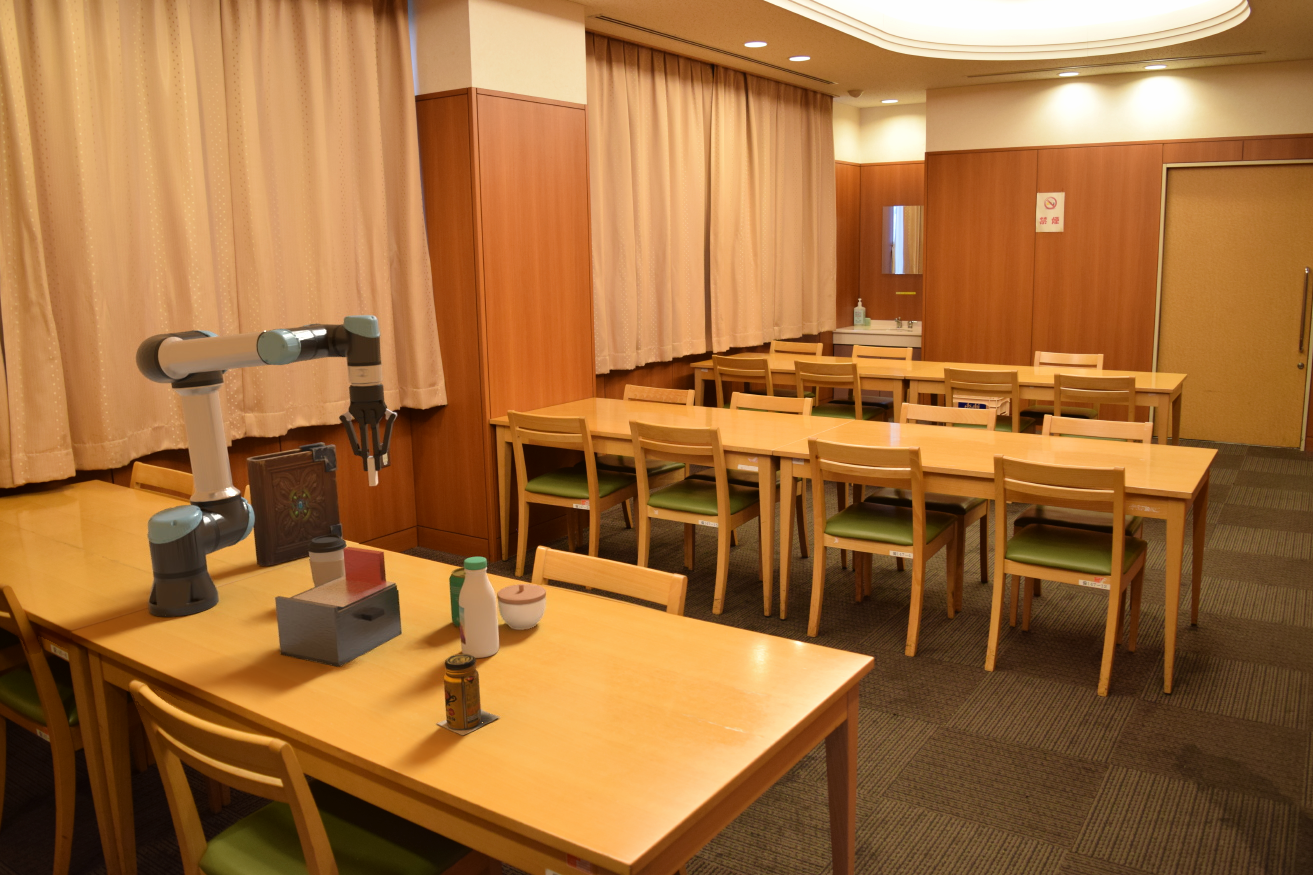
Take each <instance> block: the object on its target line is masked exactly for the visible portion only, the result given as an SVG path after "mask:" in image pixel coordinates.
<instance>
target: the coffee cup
mask: <svg viewBox="0 0 1313 875" xmlns="http://www.w3.org/2000/svg"><path fill="white" fill-rule="evenodd" d="M346 547H348V546H347V541H346V540H345V539H344V538H343V539H341V537H340V536H338V535H337V534H328V535H326V536H320V537H316V538H314V539H312V541H311V543H309V544H308V549H307V550H308V551H309V555H308V557H309V566H310V571H311V572H310V573H311V577H312V583H313V585H314V587H316V586H319V585H321V584H323V583H326V582H328V581H331V580H333V579H335V578H338V577H340V576H341V577H343V576H345V564H344V552H343V549H344V548H346Z"/></svg>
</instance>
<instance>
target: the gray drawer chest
mask: <svg viewBox="0 0 1313 875" xmlns="http://www.w3.org/2000/svg"><path fill="white" fill-rule="evenodd" d="M340 577H341V576H340ZM340 577H338V578H340ZM338 578H335V579H333V580H336V579H338ZM333 580H331V581H333ZM331 581H328V582H331ZM328 582H326V583H328ZM326 583H323V584H321V585H324V584H326ZM321 585H319V586H321ZM319 586H316V587H315V586H314V587H312V588H310V589H307V590H305V591H302V592H300V593H297V594H295V595H293V596H291V597H286V596H281V595H278V596H275V597H274V600H275V609H276V610H275V611H276V620H277V633H278V641H279V652H280V655H281V656H285V657H289V658H290V657H291V658H295V659H300V660H304V661H310V662H315V663H319V664H324V665H329V666H334V667H339V668H340V667H342V666H343V665H345V664H347V663H349V662H351V661H352V660H355V659H356V658H358V657H360V656H363V655H364V654H366V653H368V652H370V651H372V650H374V649H375V648H377V647H380V646H381V645H383V644H385V643H387V642H389V641H390V640H393V639H395V638H397V637H399V636H400V635H402V618H401V607H400V594H399V593H400V592H399V589H398V585H397V584H396V585H394V586H392V587H390V588H388V589H385V590H383V591H381V592H379V593H377V594H375V595H372V596H370V597H368V598H366V599H364V600H362V601H359V602H357V603H355V604H353V605H351V606H349V607H346V608H344V609H342V610H340V611H338V606H333V605H327V604H322V603H316V602H310V601H305V600H299V599H293V597H295V596H298V595H300V594H302V593H305V592H307V591H309V590H312V589H314V588H317V587H319Z"/></svg>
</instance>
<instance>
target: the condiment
mask: <svg viewBox="0 0 1313 875" xmlns="http://www.w3.org/2000/svg"><path fill="white" fill-rule="evenodd" d="M476 661H477V660H476V658H474V656H472V655H469V654H463V653H459V654H453V655H451V656H449V657H447V658H445V660H444V668H445V669H444V675H443V688H444V690H443V691H444V700H445V716H446V719H444V720H441V721H440V722H437V723H436V724H437V725H438V726H440V727H442V728H445V729H446V730H448V731H451V732H453V733H456V734H459V735H461V736H464V735H467V734H469V733H472V732H473V731H475V730H478V729H480V728H482V727H484V726H485V725H486V724H489V723H492V722H494V721H495V720H496V719H498V718H501V716H499V715H496V714H493V713H491V712H488V711H485V710H484V709H482V706H481V692H480V691H481V690H480V676H479V671H478V670H477V664H476ZM490 713H491V714H490ZM482 722H483V723H482Z"/></svg>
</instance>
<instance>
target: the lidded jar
mask: <svg viewBox="0 0 1313 875" xmlns="http://www.w3.org/2000/svg"><path fill="white" fill-rule="evenodd" d="M546 597H547V590H546V588H545V587H544V586H541V585H538V584H534V583H533V584H531V583H519V584H517V583H516V584H512V585H508V586H505V587H503V588H500V589H499V590H498V591H497V594H496V599H497V605H498V606H497V607H498V611H499V614H500V617H501V618H502V621H504V623H505V624H507V625H508V627H509V628H510V627H511V629H512V630H517V631H524V629H526V630H531V629H533V628H535V627H536V626H537V625H538V623H539V622H540V621H541V619H542V618H543V617H544V614H545V611H546V604H547V601H546V600H547V599H546ZM536 624H537V625H536ZM534 626H535V627H534ZM532 627H533V628H532ZM530 628H531V629H530Z"/></svg>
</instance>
